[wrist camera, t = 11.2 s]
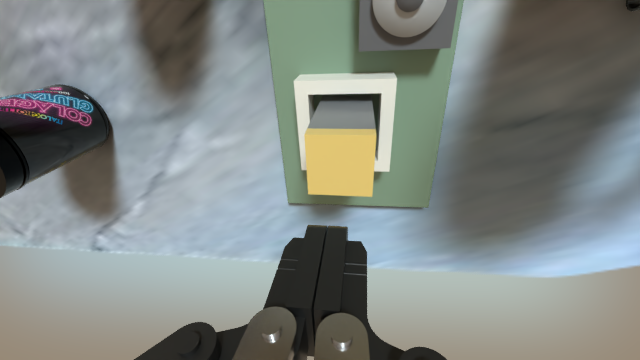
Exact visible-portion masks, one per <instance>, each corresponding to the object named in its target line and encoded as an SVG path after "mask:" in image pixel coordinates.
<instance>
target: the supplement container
mask: <svg viewBox="0 0 640 360" xmlns="http://www.w3.org/2000/svg"><path fill="white" fill-rule="evenodd" d="M108 135H109V123H108V120H107V117H106V115H105V113H104V111H103V109H102V108H101V107H100V105H99V104H98V103H97V102H96V101H95V100H94V99H93V98H92V97H91V96H89V95H88V94H86V93H85V92H83V91H81V90H80V89H77V88H75V87H72V86H68V85H60V84H59V85H52V86H48V87H44V88H39V89H35V90H31V91H26V92H22V93H18V94H13V95H9V96H5V97H1V98H0V198H1V197H3V196H5V195H7V194H9V193H11V192H13V191H15V190H18V189H20V188H22V187H23V186H25V185H26V184H28V183H30V182H32V181H34V180H36V179H38V178H40V177H42V176H44V175H46V174H48V173H50V172H52V171H54V170H55V169H57V168H59V167H61V166H63V165H65V164H67V163H69V162H71V161H73V160H75V159H77V158H79V157H81V156H83V155H85V154H87V153H89V152H91V151H93V150H95V149H97V148H99V147H101V146H102V145H103V144H104V143H105V141H106V140H107V138H108Z"/></svg>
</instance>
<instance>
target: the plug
mask: <svg viewBox="0 0 640 360" xmlns="http://www.w3.org/2000/svg"><path fill="white" fill-rule="evenodd" d="M304 137H305V153H306V168H307V183H308V194H314V195H340V196H365V197H372V194H373V179H374V164H375V149H376V128H375V119H374V111H373V103H372V95H323V96H322V98H321V100H320V103H319V105H318V107H317V109H316V111H315V113H314V115H313V117H312V119H311V122H310V124H309V126H308V128H307V130H306V132H305V134H304Z"/></svg>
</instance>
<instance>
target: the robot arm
mask: <svg viewBox="0 0 640 360" xmlns="http://www.w3.org/2000/svg"><path fill="white" fill-rule="evenodd" d="M307 356H314V360H447V359H446V358H445V357H443V356H442V355H441V354H439V353H438V352H436V351H434V350H432V349H429V348H425V347H414V348H411V349H409V350H407V351H403V350H401V349H398V348H396V347H394V346H392V345H390V344H388V343H386V342H384V341H383V340H381V339H380V338H379V337H378V336H376V334H375V333H374V332H373V330H372V329H371V327H370V325H369V323H368V319H367V252H366V250H365V248H364V246H363V244H362V242H360V241H348V227H341V226H328V227H327V226H320V225H308V226H307V230H306V233H305V237H304V238H293V239H292V240H291V241H290V242H289V243H288V244H287V245H286V246H285V248H284V251H283V254H282V257H281V260H280V263H279V266H278V270H277V271H276V274H275V277H274V280H273V283H272V286H271V289H270V292H269V295H268V297H267V300H266V303H265V306H264V308H263V310H261V311H260V312H258V313H257V314H256V315H255V316H254V317H253V318H252V319H251V320H250V322H249V323H248V324H246V325H244V326H242V327H238V328H235V329H230V330H225V331H221V332H215V330H214V328H213V327H212V326H211V325H209V324H207V323H203V322H195V323H191V324H188V325H186V326H184V327H182V328H180V329H179V330H177V331H176V332H174V333H173V334H171V335H170V336H168V337H167V338H165V339H164V340H163V341H161V342H160V343H158V344H156V345H155V346H154V347H152V348H151V349H149V350H148V351H146V352H145V353H143V354H142V355H140V356H139V357H137V358H136V359H134V360H307Z"/></svg>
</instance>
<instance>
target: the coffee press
mask: <svg viewBox="0 0 640 360" xmlns="http://www.w3.org/2000/svg"><path fill="white" fill-rule="evenodd" d="M626 6H627V9H628V10H630V11H636V10H640V0H626Z"/></svg>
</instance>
